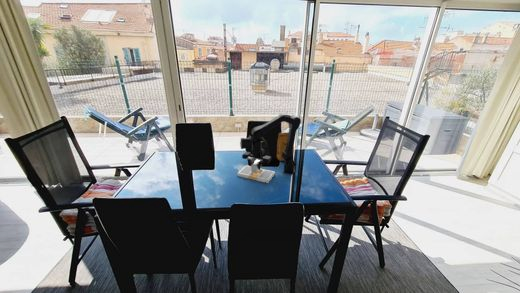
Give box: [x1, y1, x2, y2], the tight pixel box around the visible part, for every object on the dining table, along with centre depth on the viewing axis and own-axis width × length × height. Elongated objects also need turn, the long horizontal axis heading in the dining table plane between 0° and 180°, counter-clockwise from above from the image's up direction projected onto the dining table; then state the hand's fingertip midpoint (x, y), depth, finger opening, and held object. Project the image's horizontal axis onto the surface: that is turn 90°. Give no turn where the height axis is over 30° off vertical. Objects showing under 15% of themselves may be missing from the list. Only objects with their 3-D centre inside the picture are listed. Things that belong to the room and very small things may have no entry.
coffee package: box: [276, 131, 295, 162], centre depth 166 cm, size 10×12×22 cm
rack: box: [237, 164, 276, 184], centre depth 146 cm, size 22×12×2 cm, turn 67°
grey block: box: [250, 159, 263, 174], centre depth 144 cm, size 4×8×6 cm, turn 157°
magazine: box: [261, 138, 270, 157], centre depth 169 cm, size 4×13×15 cm, turn 95°
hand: (256, 169), depth 145 cm, fingers closed on grey block, 4 cm apart
